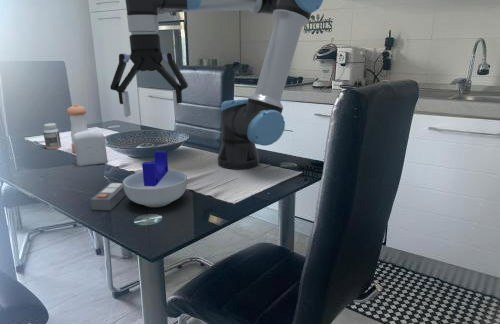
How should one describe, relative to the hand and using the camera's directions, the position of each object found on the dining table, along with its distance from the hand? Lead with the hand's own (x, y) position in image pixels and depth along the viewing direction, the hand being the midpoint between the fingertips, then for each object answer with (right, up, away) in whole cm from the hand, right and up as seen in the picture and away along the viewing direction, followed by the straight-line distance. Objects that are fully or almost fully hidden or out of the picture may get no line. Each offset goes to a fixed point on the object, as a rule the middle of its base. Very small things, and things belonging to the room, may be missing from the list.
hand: (152, 115), depth 104 cm
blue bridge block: (+1, -17, -1) cm, 17 cm away
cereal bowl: (+1, -24, +2) cm, 24 cm away
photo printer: (-31, -13, +35) cm, 48 cm away
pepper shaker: (-42, -8, +51) cm, 66 cm away
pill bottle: (-56, -7, +56) cm, 80 cm away
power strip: (-12, -23, +3) cm, 26 cm away
